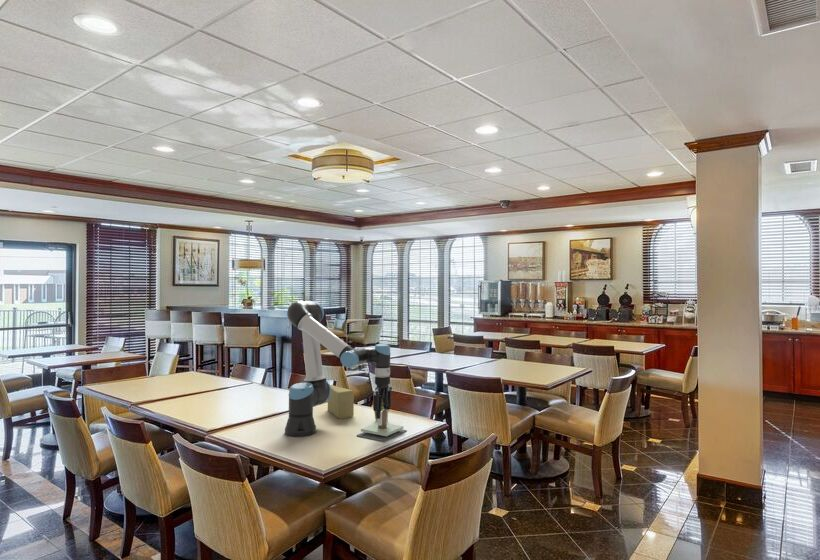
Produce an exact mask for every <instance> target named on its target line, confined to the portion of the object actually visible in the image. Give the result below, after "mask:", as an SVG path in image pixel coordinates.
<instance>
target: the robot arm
mask: <svg viewBox="0 0 820 560" xmlns="http://www.w3.org/2000/svg"><path fill="white" fill-rule="evenodd" d="M286 314H287V315H286V316H287V319H288V321H289V322H290V323H291V325H293V327H296V328H297V329H298V330H299V331H301V334H302V346H303V356H304V365H305V366H304V368H305V378H304V379H303V382H299V383H298V382H297V383H294V384H292V385H291V386H290V387H289V389H288V418H287V422H286V425H285V428H284V434H285V435H286V436H287V437H295V438H296V437H298V438H299V437H307V436H308V437H309V436H312V435H314V434H316V432H317V426H316V424H315V419H314V414H313V413H314V407H316V406H318V405H322V404H324V403H326V402H328V399H329V397H330V395H331V386H330V385H331V384H330V383H329V382H328V381H327V377H326V376H325V375H324V373H323V363H322V361H323V360H322V354H321V345H322V346H323V347H324V348H325V349H327V350H328V351H329V352H331V353H332V354H333V355H334V356H336V357H337V358H339V359H340V360H339V361H340V363H341V365H342V366H343V367H345V368H354V367H356V366H360V365H362V364H363V365H364V364H374V376H375V377H374V384H375V385H376V388H375V390H373V391H372V399H373V401H372V403H373V404H372V407H373V408H372V410H373V412H374V411H376V418H377V422H376V423H377V425H380V426H381V425H382V412H381V407H382V403H383V407H384V409H383V410H386V411H387V423H388V424H389V411H388V409H389V410H391V407H392V391H393V390H392V389H393V387H392V386H389V385H390V384H391V376H390V375H391V346H390V345H389V344H386V343H380V344H379V343H378V344H375V346H374V348H373V347H362V346H360V347H354V348H353V347H352V346H351V345H349V344H348V343H346V341H344V340H342V339H341V338H340V337H338V336H337V335H336V334H335V333H334V332H332V331H331V330H329V329H328V328H326V326H324V325H323V324H322V322H321V321H322V320H323V319H324V317H325V316H324V315H325V311H324V308H323V306H322V304H320V303H319V302H318V301H313V300H306V301H305V300H304V301H302V300H301V301H300V300H298V301H294V302H293V303H291V304H290V305H289V306H288V308H287V313H286Z"/></svg>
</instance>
